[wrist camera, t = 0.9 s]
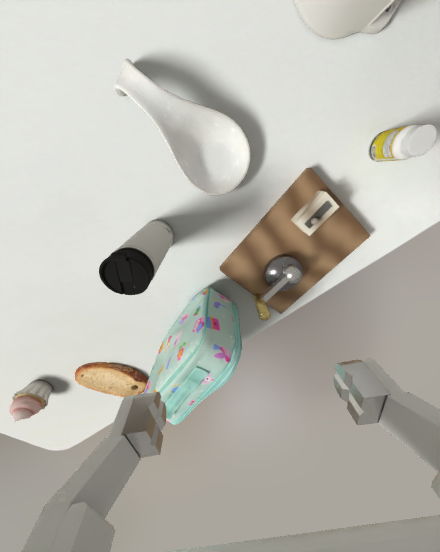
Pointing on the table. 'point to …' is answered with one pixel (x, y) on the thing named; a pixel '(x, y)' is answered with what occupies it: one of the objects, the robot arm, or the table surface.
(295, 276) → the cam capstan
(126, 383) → the slice of bread
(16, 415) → the cupcake
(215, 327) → the lunch box
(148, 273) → the travel mug
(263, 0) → the table surface
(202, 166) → the spoon rest
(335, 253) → the stand
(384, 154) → the supplement bottle
